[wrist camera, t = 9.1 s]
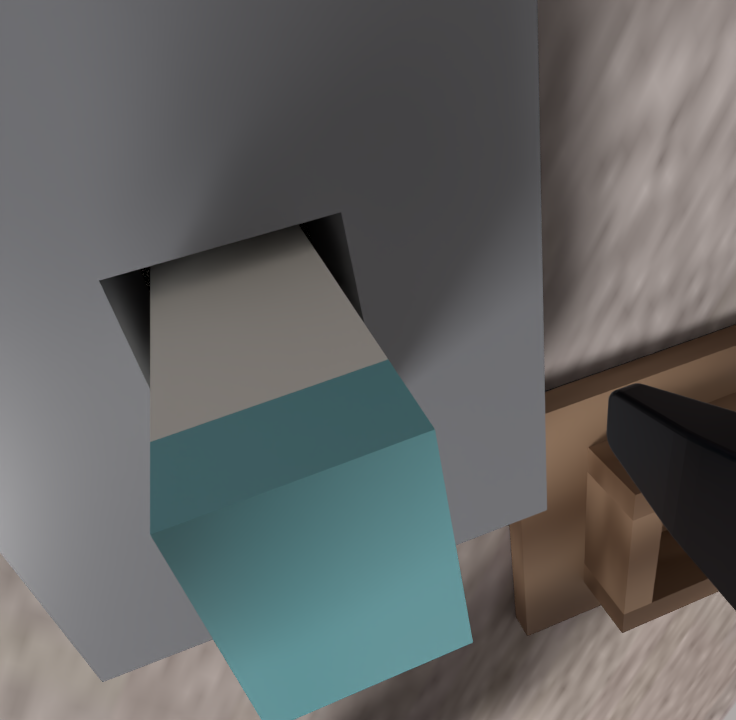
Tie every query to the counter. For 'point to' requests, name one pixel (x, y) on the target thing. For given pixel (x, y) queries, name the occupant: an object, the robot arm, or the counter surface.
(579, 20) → the counter surface
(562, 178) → the counter surface
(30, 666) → the counter surface
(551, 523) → the holster
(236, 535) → the plug
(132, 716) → the counter surface
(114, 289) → the socket block
